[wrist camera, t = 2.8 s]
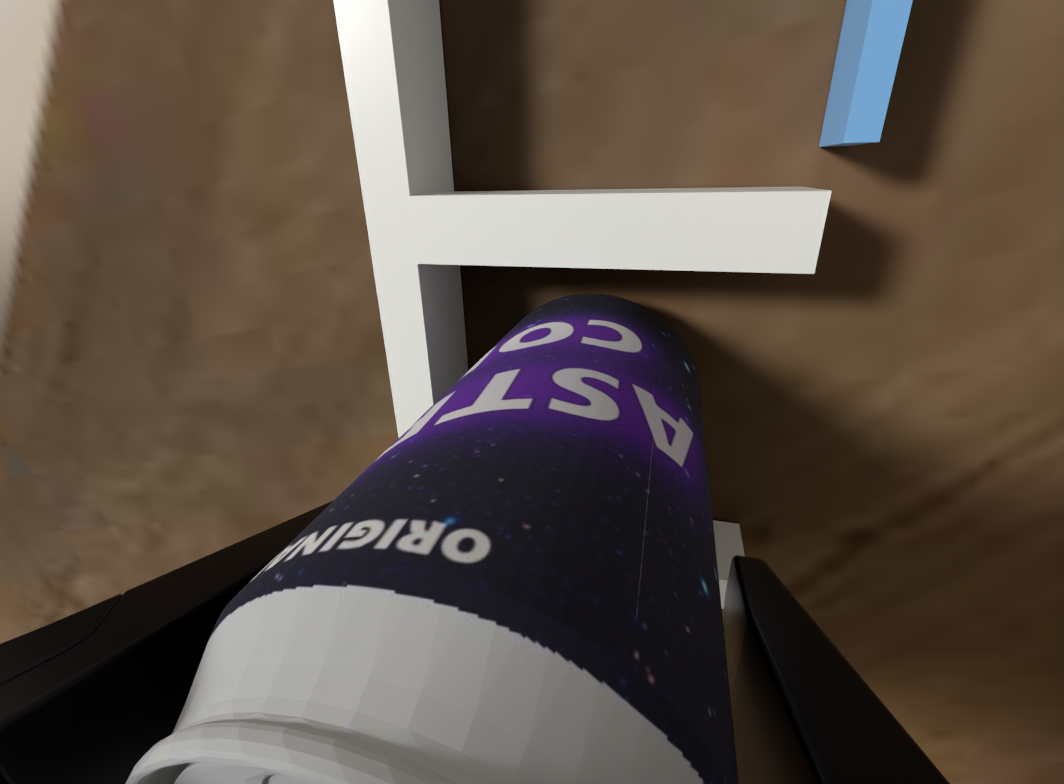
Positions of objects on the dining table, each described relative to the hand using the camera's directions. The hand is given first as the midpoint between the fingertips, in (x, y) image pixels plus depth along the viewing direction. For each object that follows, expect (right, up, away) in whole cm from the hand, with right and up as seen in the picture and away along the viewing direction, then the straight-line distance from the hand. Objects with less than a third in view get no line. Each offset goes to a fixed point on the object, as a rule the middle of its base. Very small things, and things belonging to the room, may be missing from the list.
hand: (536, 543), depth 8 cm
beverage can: (+2, +3, +6) cm, 7 cm away
